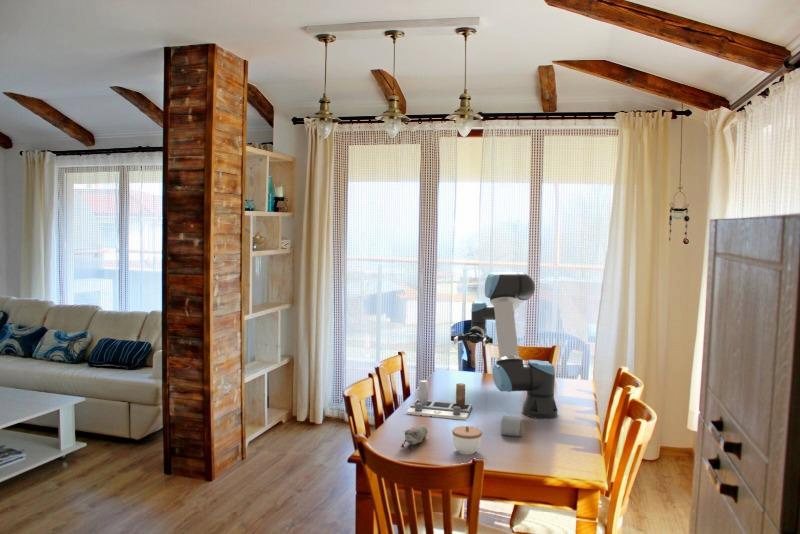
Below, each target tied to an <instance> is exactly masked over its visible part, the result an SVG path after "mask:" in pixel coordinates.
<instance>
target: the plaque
mask: <svg viewBox="0 0 800 534" xmlns="http://www.w3.org/2000/svg"><path fill="white" fill-rule="evenodd" d="M410 414H412V415H413V416H420V415H422V416H423V417H430V416H432V417H433V418H441V419H443V418H444V419H453V420H461V421H467V420H468V417H469V416H468V413H461V407H459V406H454V407H453V412H451V411H441V410H430V409H422V403H415V408H410V407H409V408H408V409H407V411H406V415H410ZM412 415H411V416H412ZM422 416H421V417H422Z"/></svg>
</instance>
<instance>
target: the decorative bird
mask: <svg viewBox="0 0 800 534" xmlns="http://www.w3.org/2000/svg"><path fill="white" fill-rule="evenodd" d="M403 433H404V436H405V437H404V442H402V443H401V446H400V448H402V450H405V449H406V447H405V446H404V445H405V444H406V442H407V444H408V447H407V450H410V451H413V449H412V445H417V444H420V443H422V441H423V439H426V438H427V437H428V427H426V425H424V424H420V425H418V426H413V427H411V428H409V429H407V430H405V431H403Z"/></svg>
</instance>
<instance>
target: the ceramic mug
mask: <svg viewBox="0 0 800 534" xmlns="http://www.w3.org/2000/svg"><path fill="white" fill-rule="evenodd" d="M523 431H524V420H523V418H521V417H518V416H512V415H507V414H503V415H502V418H501V425H500V435H502V436H508V437H509V436H510V437H521V436H523Z"/></svg>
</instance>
